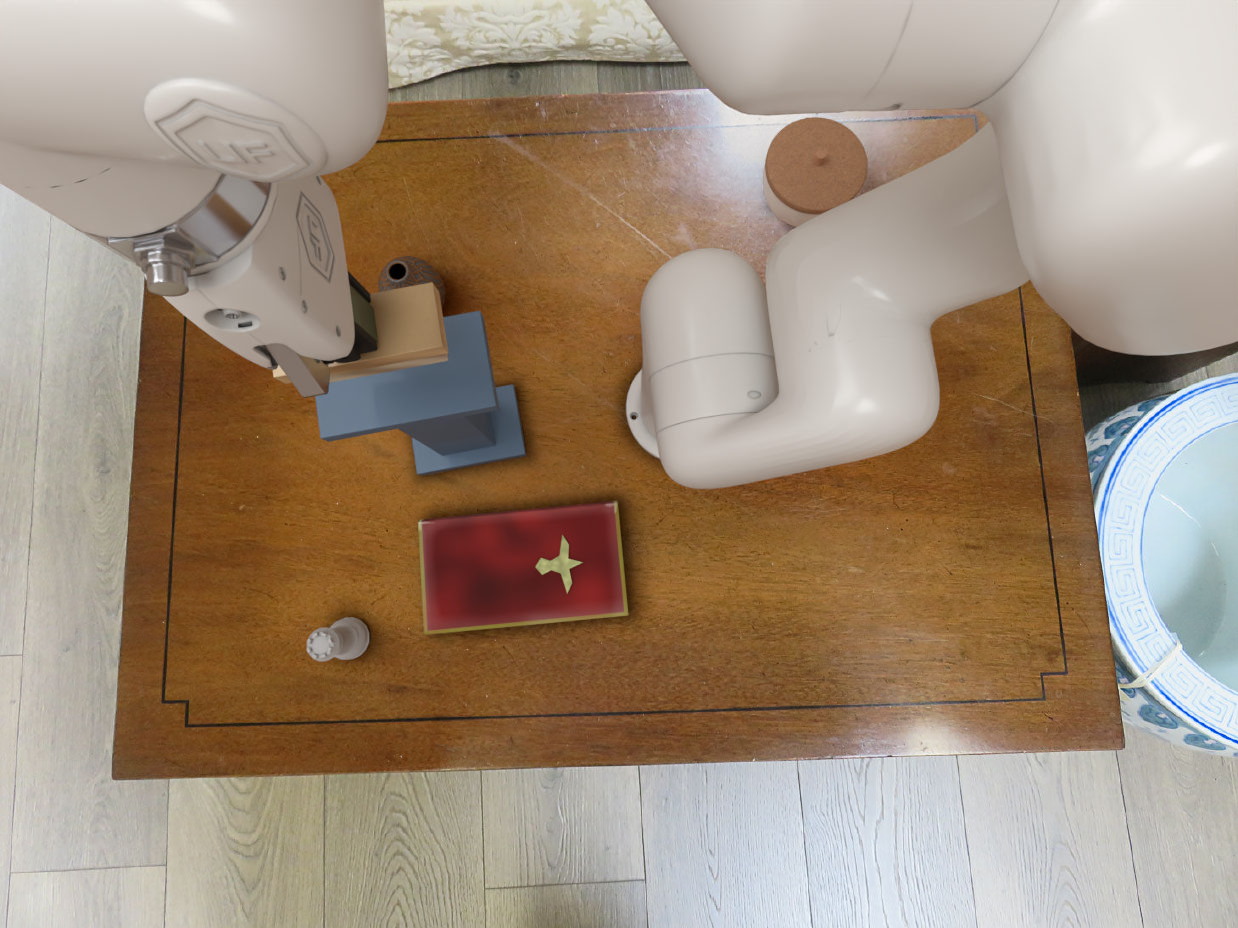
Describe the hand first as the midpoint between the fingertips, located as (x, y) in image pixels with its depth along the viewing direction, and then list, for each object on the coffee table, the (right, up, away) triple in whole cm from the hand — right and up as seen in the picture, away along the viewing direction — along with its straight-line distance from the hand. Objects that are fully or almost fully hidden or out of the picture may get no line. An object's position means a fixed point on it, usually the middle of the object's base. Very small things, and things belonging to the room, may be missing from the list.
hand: (349, 326), depth 46 cm
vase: (-6, +10, +38) cm, 39 cm away
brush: (0, -1, +4) cm, 4 cm away
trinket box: (+38, +22, +38) cm, 58 cm away
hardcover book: (+7, -20, +33) cm, 39 cm away
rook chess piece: (-12, -27, +32) cm, 44 cm away
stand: (0, -5, +35) cm, 35 cm away
